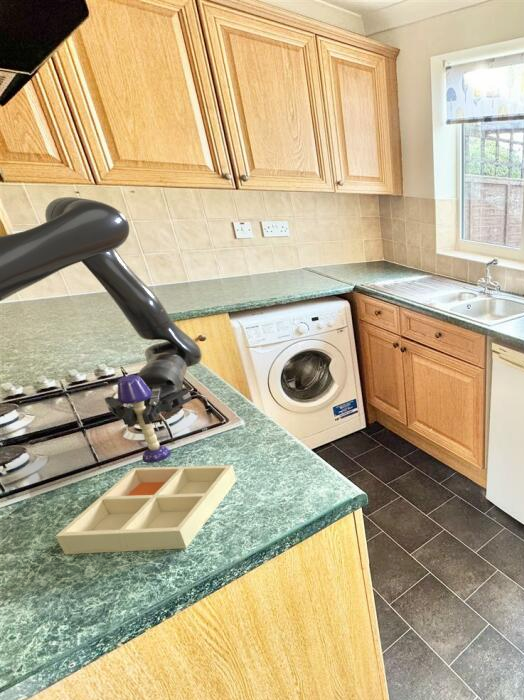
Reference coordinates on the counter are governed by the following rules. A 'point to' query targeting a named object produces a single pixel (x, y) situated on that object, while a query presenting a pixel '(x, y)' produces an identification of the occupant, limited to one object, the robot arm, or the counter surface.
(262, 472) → the counter surface
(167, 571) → the counter surface
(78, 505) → the counter surface
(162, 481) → the grid
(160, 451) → the toy lamp
